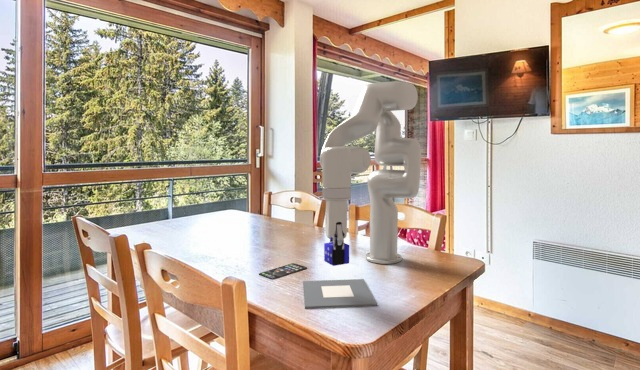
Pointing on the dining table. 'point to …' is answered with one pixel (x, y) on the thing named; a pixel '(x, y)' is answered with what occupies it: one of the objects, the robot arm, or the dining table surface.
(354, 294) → the mat
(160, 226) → the dining table surface
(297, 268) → the smartphone
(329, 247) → the die
